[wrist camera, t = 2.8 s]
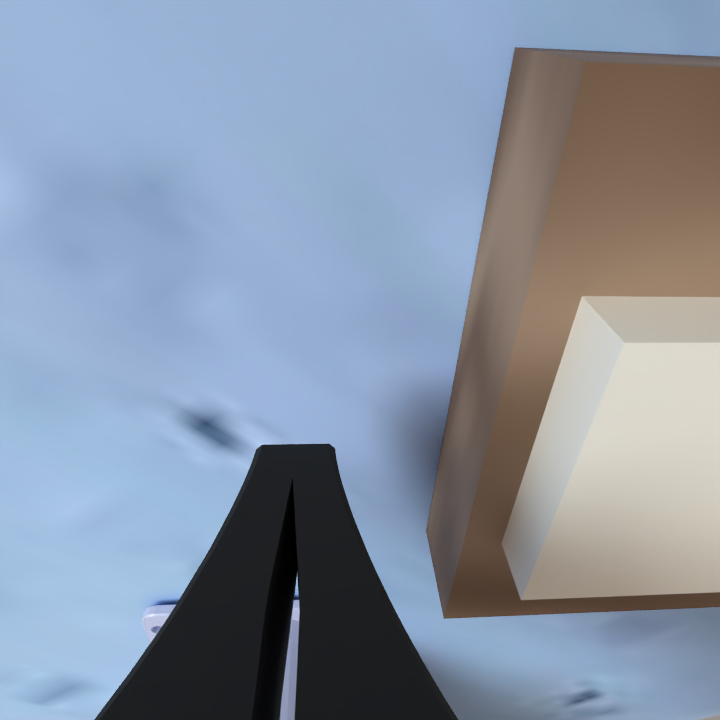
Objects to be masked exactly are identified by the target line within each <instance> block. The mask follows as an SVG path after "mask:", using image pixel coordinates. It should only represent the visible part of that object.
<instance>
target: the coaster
mask: <svg viewBox="0 0 720 720" xmlns="http://www.w3.org/2000/svg"><path fill="white" fill-rule="evenodd" d="M502 546H503V549H504V552H505V555H506V558H507V561H508V564H509V567H510V570H511V573H512V576H513V578H514V581H515V584H516V587H517V590H518V593H519V596H520V599H521V600H537V599H562V598H587V597H612V596H637V595H662V594H687V593H712V592H720V297H631V296H582V297H581V301H580V304H579V307H578V310H577V313H576V316H575V319H574V322H573V325H572V328H571V331H570V334H569V337H568V341H567V344H566V347H565V350H564V353H563V356H562V359H561V362H560V365H559V368H558V371H557V374H556V377H555V381H554V384H553V387H552V390H551V393H550V396H549V399H548V402H547V405H546V408H545V411H544V414H543V417H542V421H541V424H540V427H539V430H538V433H537V436H536V439H535V442H534V445H533V448H532V451H531V454H530V457H529V461H528V464H527V467H526V470H525V473H524V476H523V479H522V482H521V485H520V488H519V491H518V494H517V497H516V501H515V504H514V507H513V510H512V513H511V516H510V519H509V522H508V525H507V528H506V531H505V534H504V537H503V541H502Z"/></svg>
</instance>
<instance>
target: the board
mask: <svg viewBox="0 0 720 720" xmlns="http://www.w3.org/2000/svg"><path fill="white" fill-rule="evenodd" d="M582 296H631V297H720V57H713V56H691V55H669V54H648V53H626V52H604V51H582V50H560V49H538V48H516V47H515V51H514V56H513V62H512V67H511V72H510V78H509V83H508V89H507V94H506V100H505V105H504V111H503V116H502V121H501V127H500V132H499V138H498V143H497V149H496V154H495V160H494V165H493V170H492V176H491V181H490V187H489V192H488V198H487V203H486V209H485V214H484V219H483V225H482V230H481V236H480V241H479V247H478V252H477V258H476V263H475V268H474V274H473V279H472V285H471V290H470V296H469V301H468V307H467V312H466V317H465V323H464V328H463V334H462V339H461V345H460V350H459V356H458V361H457V366H456V372H455V377H454V383H453V388H452V394H451V399H450V405H449V410H448V415H447V421H446V426H445V432H444V437H443V443H442V448H441V454H440V459H439V464H438V470H437V475H436V481H435V486H434V492H433V497H432V503H431V508H430V514H429V519H428V524H427V530H426V532H427V537H428V542H429V547H430V552H431V557H432V562H433V567H434V572H435V577H436V582H437V587H438V592H439V597H440V602H441V606H442V611H443V616H444V619H445V618H469V617H492V616H516V615H539V614H563V613H587V612H610V611H634V610H657V609H681V608H705V607H720V592H712V593H687V594H662V595H637V596H612V597H587V598H562V599H537V600H521V599H520V596H519V593H518V590H517V587H516V584H515V581H514V578H513V576H512V573H511V570H510V567H509V564H508V561H507V558H506V555H505V552H504V549H503V546H502V541H503V537H504V534H505V531H506V528H507V525H508V522H509V519H510V516H511V513H512V510H513V507H514V504H515V501H516V497H517V494H518V491H519V488H520V485H521V482H522V479H523V476H524V473H525V470H526V467H527V464H528V461H529V457H530V454H531V451H532V448H533V445H534V442H535V439H536V436H537V433H538V430H539V427H540V424H541V421H542V417H543V414H544V411H545V408H546V405H547V402H548V399H549V396H550V393H551V390H552V387H553V384H554V381H555V377H556V374H557V371H558V368H559V365H560V362H561V359H562V356H563V353H564V350H565V347H566V344H567V341H568V337H569V334H570V331H571V328H572V325H573V322H574V319H575V316H576V313H577V310H578V307H579V304H580V301H581V297H582Z"/></svg>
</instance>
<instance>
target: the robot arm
mask: <svg viewBox="0 0 720 720" xmlns="http://www.w3.org/2000/svg"><path fill="white" fill-rule="evenodd" d="M297 573H298V591H299V600H294V594H295V586H296V577H297ZM142 623H143V626H144V628H145V631H146V633H147V636H148V639H149V641H150V645H149V646H148V648H147V649H146V650H145V652H144V653H143V655H142V656H141V658H140V659H139V660H138V662H137V663H136V665H135V666H134V667H133V669H132V670H131V672H130V673H129V674H128V676H127V677H126V678H125V680H124V681H123V682H122V684H121V685H120V686H119V688H118V689H117V690H116V692H115V693H114V694H113V696H112V697H111V698H110V700H109V701H108V702H107V704H106V705H105V706H104V708H103V709H102V710H101V712H100V713H99V714H98V716H97V717H96V718H95V720H458V719H457V717H456V715H455V714H454V712H453V711H452V709H451V708H450V706H449V705H448V703H447V701H446V700H445V698H444V697H443V695H442V693H441V692H440V690H439V688H438V686H437V685H436V683H435V681H434V680H433V678H432V676H431V675H430V673H429V671H428V669H427V668H426V666H425V664H424V663H423V661H422V659H421V657H420V656H419V654H418V652H417V650H416V648H415V647H414V645H413V643H412V641H411V639H410V638H409V636H408V634H407V632H406V630H405V629H404V627H403V625H402V623H401V621H400V619H399V617H398V615H397V613H396V611H395V609H394V607H393V605H392V603H391V601H390V600H389V597H388V595H387V593H386V591H385V589H384V587H383V585H382V583H381V581H380V579H379V577H378V574H377V572H376V570H375V568H374V566H373V564H372V561H371V559H370V557H369V555H368V552H367V550H366V547H365V545H364V542H363V540H362V537H361V535H360V533H359V530H358V528H357V525H356V523H355V520H354V518H353V515H352V512H351V509H350V507H349V504H348V500H347V497H346V494H345V491H344V488H343V485H342V481H341V478H340V474H339V470H338V465H337V460H336V454H335V448H334V447H332V446H331V445H330V444H286V445H262V446H260V447H259V448H258V449H256V452H255V455H254V458H253V461H252V464H251V466H250V469H249V471H248V474H247V476H246V478H245V481H244V483H243V485H242V487H241V490H240V492H239V494H238V496H237V498H236V500H235V502H234V504H233V506H232V508H231V510H230V512H229V514H228V516H227V518H226V520H225V522H224V523H223V525H222V527H221V529H220V531H219V533H218V535H217V537H216V539H215V540H214V542H213V544H212V546H211V548H210V550H209V551H208V553H207V555H206V557H205V558H204V560H203V562H202V563H201V565H200V566H199V568H198V570H197V571H196V573H195V575H194V576H193V578H192V580H191V581H190V583H189V585H188V586H187V588H186V590H185V591H184V593H183V595H182V596H181V598H180V600H179V601H178V603H177V604H174V605H154V606H151V607H148V608H147V609H146V610H145V611H144V614H143V618H142Z"/></svg>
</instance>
